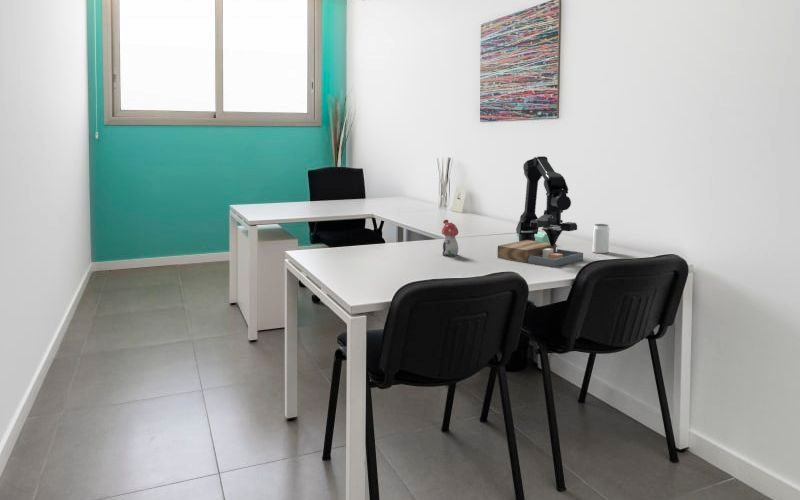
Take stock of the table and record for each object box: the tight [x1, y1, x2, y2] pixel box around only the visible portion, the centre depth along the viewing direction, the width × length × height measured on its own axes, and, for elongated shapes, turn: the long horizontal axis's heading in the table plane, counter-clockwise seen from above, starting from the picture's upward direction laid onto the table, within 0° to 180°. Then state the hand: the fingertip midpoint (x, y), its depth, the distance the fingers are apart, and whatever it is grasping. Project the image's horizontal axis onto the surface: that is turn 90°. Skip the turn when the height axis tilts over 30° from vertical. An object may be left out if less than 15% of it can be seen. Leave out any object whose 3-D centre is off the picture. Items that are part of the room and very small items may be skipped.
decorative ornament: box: [441, 219, 459, 257], centre depth 260 cm, size 9×6×15 cm
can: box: [592, 223, 610, 255], centre depth 262 cm, size 6×6×12 cm
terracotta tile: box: [548, 253, 563, 259], centre depth 245 cm, size 4×4×2 cm
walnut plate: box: [497, 240, 557, 263], centre depth 255 cm, size 15×20×5 cm
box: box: [527, 248, 584, 268], centre depth 245 cm, size 13×20×3 cm, turn 132°
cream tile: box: [543, 248, 553, 258], centre depth 248 cm, size 4×4×2 cm
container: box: [516, 231, 550, 243], centre depth 294 cm, size 6×6×25 cm
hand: (552, 246), depth 246 cm, fingers closed
